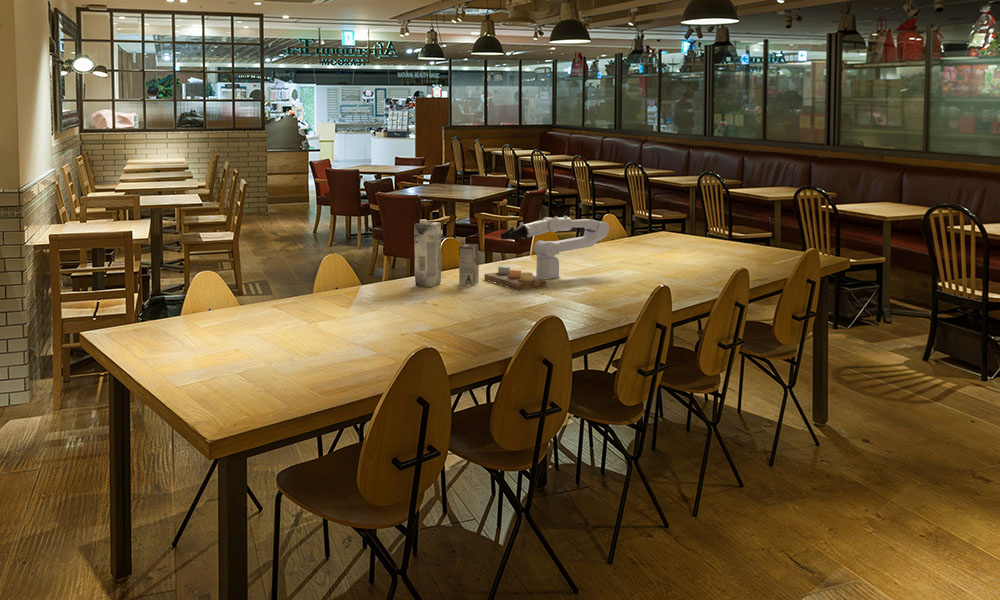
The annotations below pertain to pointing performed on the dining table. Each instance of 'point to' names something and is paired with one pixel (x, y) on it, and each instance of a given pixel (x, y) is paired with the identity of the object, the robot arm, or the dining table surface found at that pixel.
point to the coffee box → (469, 264)
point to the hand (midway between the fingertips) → (505, 236)
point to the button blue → (503, 270)
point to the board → (515, 281)
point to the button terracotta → (514, 273)
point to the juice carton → (427, 253)
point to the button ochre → (526, 277)
